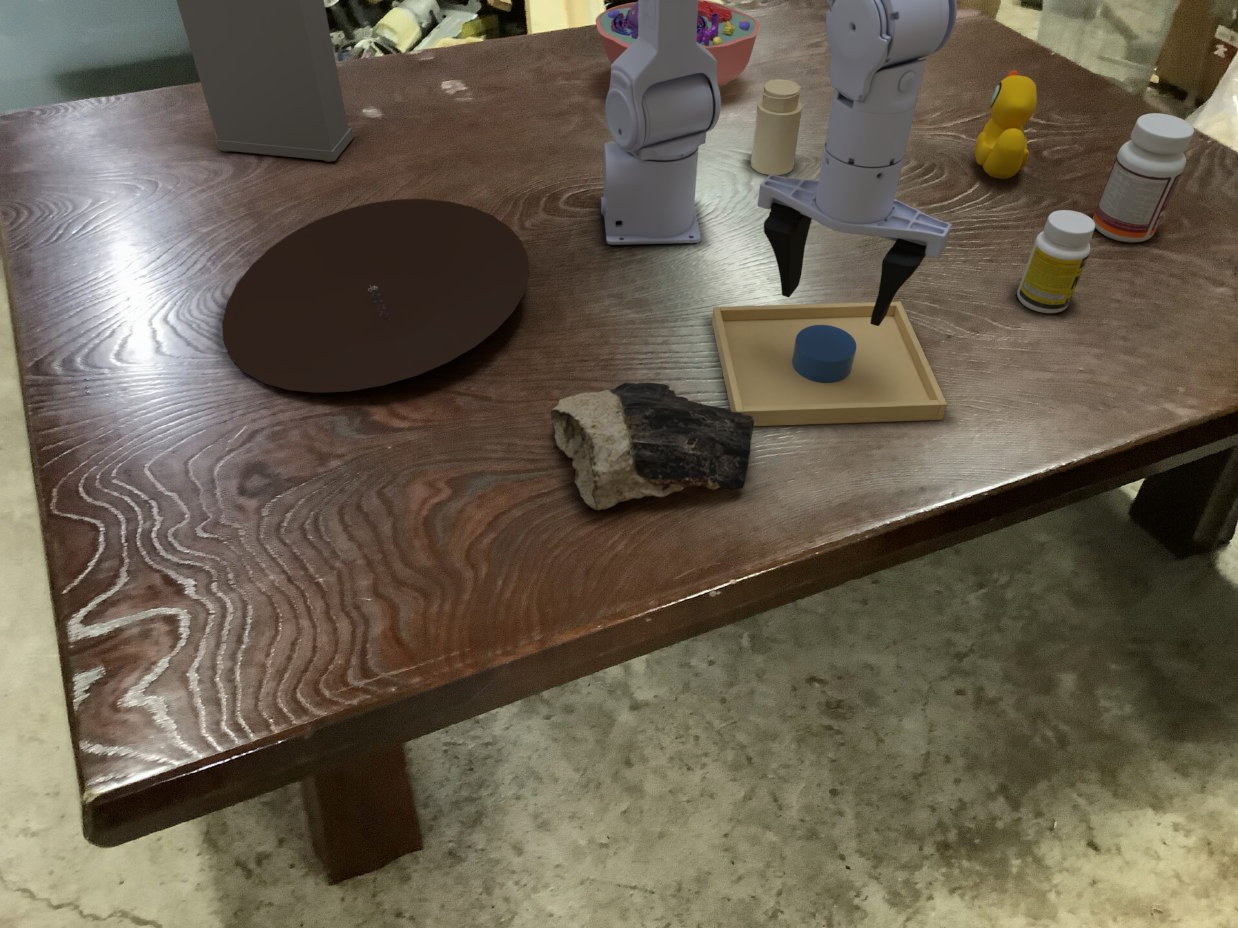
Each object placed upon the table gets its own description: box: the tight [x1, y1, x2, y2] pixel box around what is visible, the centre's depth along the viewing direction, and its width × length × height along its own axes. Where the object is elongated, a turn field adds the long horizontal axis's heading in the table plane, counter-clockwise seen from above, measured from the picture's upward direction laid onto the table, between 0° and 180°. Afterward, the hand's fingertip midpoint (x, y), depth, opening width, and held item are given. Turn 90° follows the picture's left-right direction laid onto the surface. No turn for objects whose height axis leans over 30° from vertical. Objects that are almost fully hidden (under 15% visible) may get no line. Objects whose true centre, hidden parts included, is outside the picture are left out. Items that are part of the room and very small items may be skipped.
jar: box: [750, 78, 803, 176], centre depth 107 cm, size 5×5×9 cm
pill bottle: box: [1092, 112, 1195, 243], centre depth 97 cm, size 6×6×11 cm
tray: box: [711, 301, 948, 427], centre depth 84 cm, size 17×14×2 cm
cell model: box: [595, 0, 761, 88], centre depth 120 cm, size 17×20×11 cm
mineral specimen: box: [550, 381, 755, 511], centre depth 75 cm, size 13×7×15 cm
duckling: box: [974, 69, 1039, 180], centre depth 107 cm, size 11×5×10 cm, turn 168°
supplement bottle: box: [1016, 209, 1096, 314], centre depth 89 cm, size 5×5×8 cm
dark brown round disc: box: [221, 198, 530, 394], centre depth 89 cm, size 28×28×4 cm
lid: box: [792, 325, 857, 383], centre depth 84 cm, size 5×5×2 cm
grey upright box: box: [176, 0, 355, 163], centre depth 104 cm, size 14×6×25 cm, turn 80°
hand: (833, 304), depth 80 cm, fingers open, 7 cm apart
